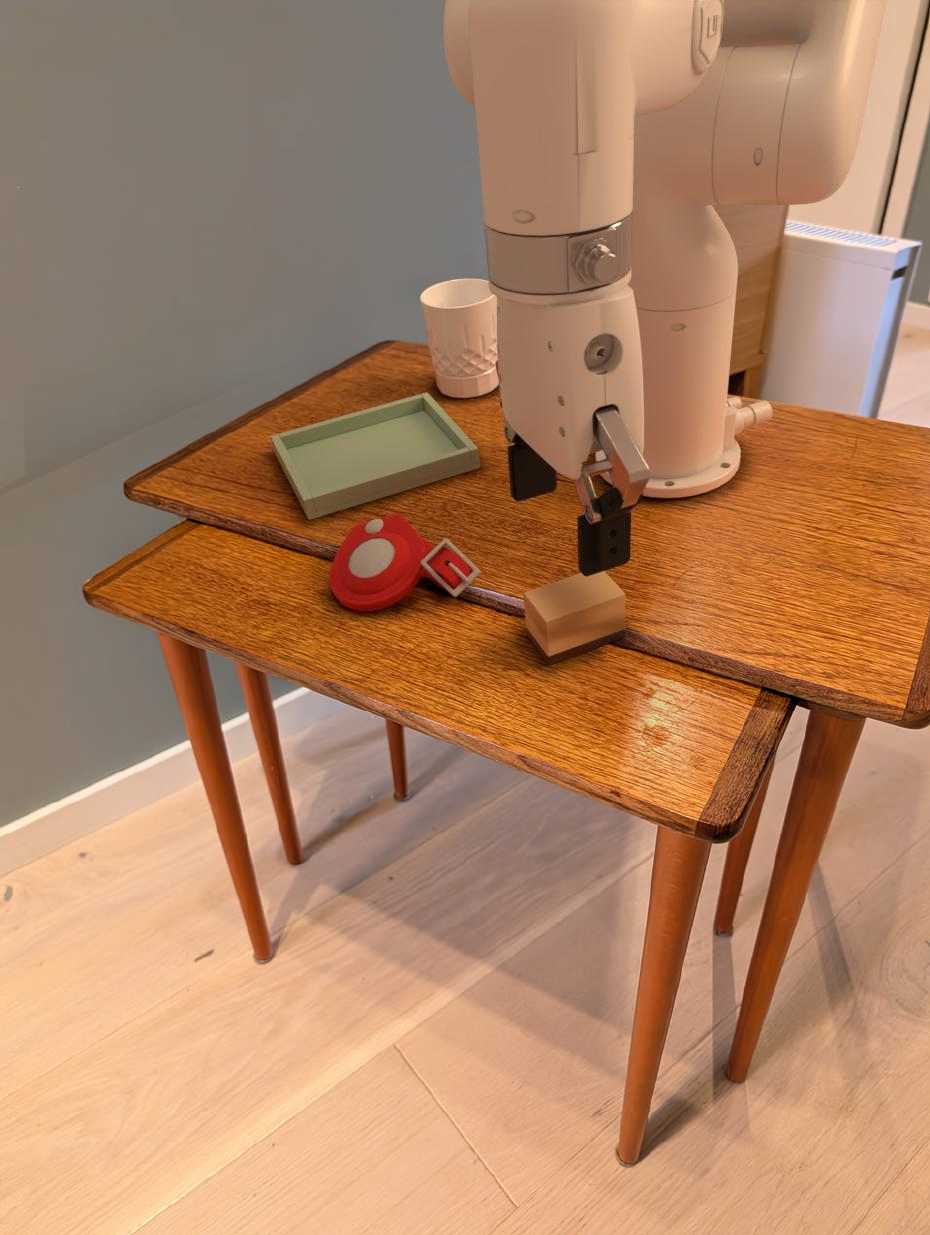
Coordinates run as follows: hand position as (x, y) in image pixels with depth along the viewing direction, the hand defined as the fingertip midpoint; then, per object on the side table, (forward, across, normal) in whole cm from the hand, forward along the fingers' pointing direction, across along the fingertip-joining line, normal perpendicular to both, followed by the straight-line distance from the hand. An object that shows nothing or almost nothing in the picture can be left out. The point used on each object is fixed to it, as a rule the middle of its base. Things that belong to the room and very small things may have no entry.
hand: (567, 528), depth 57 cm
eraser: (+10, +1, -1) cm, 10 cm away
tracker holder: (+10, +12, +8) cm, 18 cm away
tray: (+9, +32, +4) cm, 34 cm away
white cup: (+9, +43, -10) cm, 45 cm away
